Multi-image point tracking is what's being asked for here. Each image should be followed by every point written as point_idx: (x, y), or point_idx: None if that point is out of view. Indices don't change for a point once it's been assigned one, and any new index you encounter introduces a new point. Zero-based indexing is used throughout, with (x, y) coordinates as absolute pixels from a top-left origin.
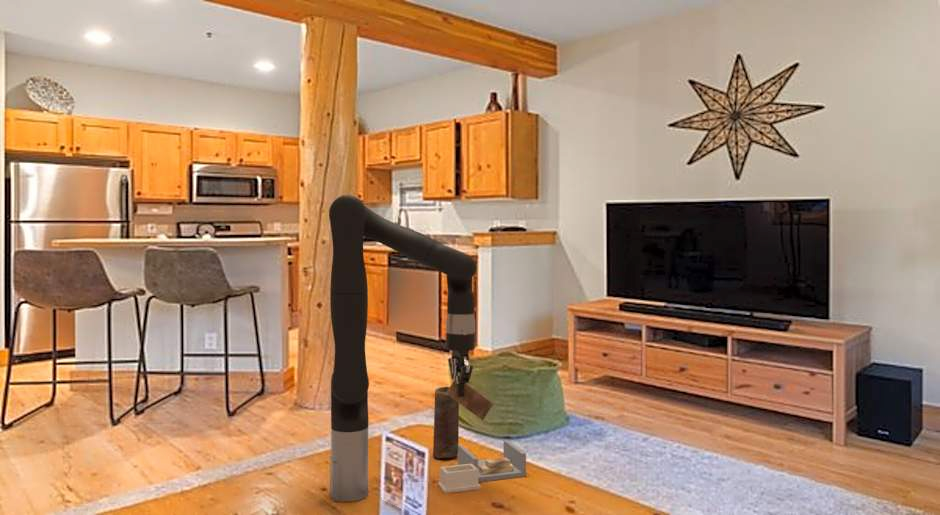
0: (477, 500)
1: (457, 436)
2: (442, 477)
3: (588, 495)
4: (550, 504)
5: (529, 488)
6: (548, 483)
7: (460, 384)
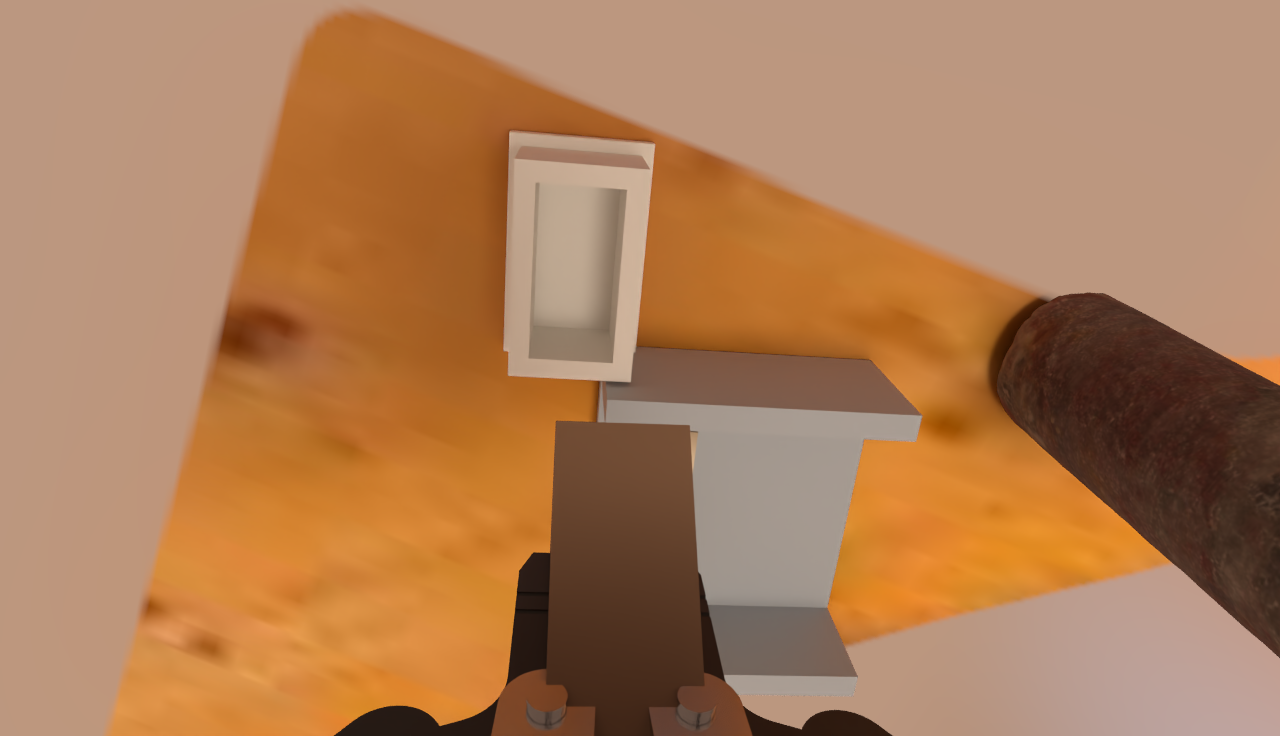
0: (347, 263)
1: (1071, 473)
2: (595, 157)
3: (259, 729)
4: (196, 556)
5: (423, 556)
6: (454, 652)
7: (492, 719)
